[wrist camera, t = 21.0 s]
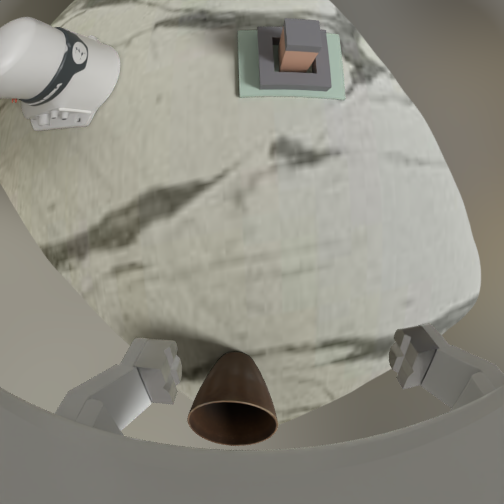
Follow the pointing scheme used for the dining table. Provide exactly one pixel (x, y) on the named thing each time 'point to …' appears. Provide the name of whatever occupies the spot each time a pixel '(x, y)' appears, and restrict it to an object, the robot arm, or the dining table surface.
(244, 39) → the board
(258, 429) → the plant pot
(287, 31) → the plug
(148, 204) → the dining table surface
